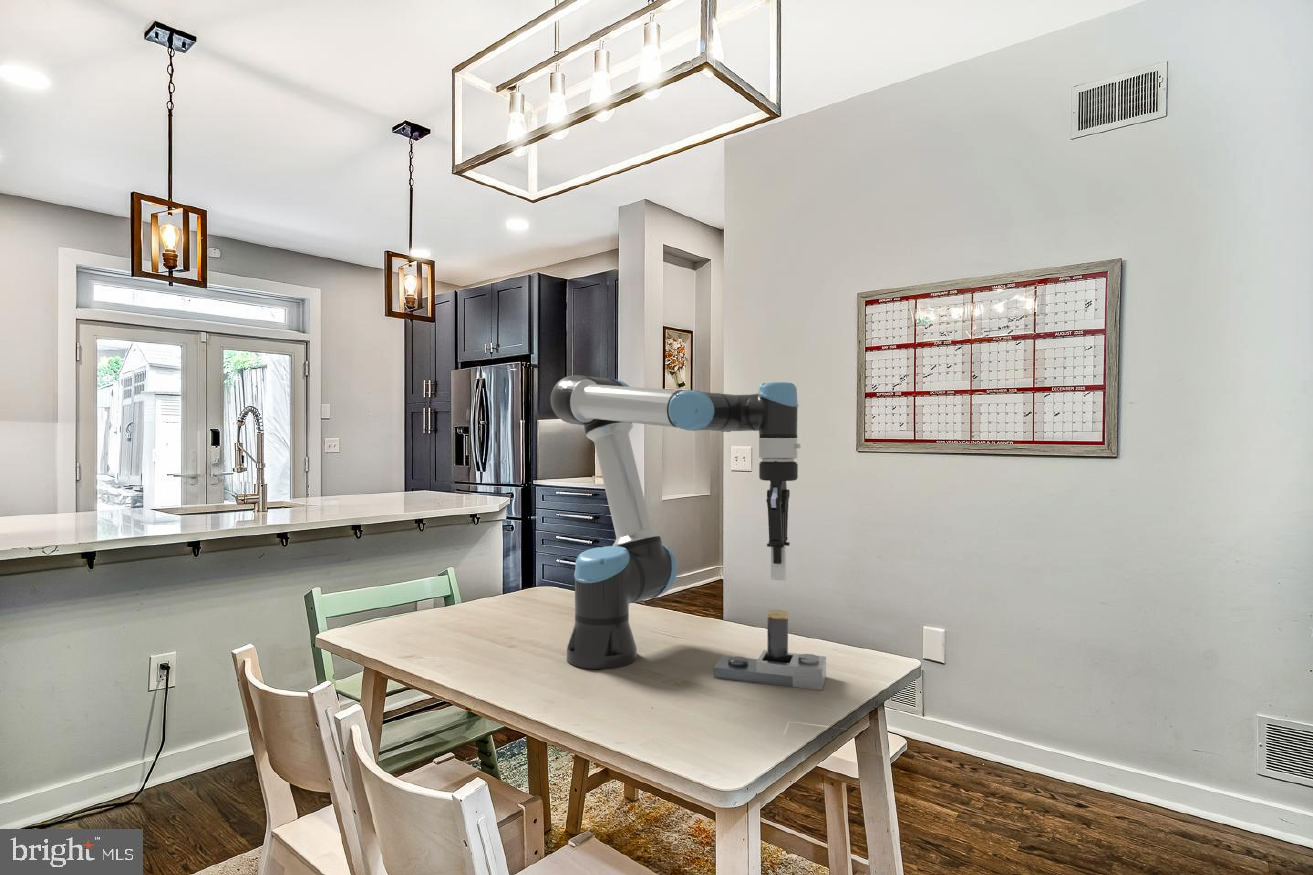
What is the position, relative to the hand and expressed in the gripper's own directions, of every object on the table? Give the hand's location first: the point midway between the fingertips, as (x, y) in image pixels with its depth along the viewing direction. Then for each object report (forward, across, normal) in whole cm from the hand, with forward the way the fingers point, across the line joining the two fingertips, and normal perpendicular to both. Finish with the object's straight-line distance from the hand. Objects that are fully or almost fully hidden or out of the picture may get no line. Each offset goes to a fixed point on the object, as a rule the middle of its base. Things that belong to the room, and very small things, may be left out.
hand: (778, 579), depth 135 cm
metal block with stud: (+20, 0, +2) cm, 20 cm away
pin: (+20, 0, 0) cm, 20 cm away
